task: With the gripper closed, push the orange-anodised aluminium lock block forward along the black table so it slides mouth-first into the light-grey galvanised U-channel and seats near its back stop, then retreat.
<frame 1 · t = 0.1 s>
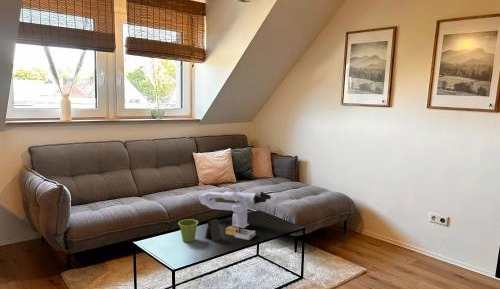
hand: (268, 198, 237), 22 cm above the table, tool horizontal, fingers open, 7 cm apart
dark tent-shaped stand: (213, 239, 225), on the table
lock block: (232, 234, 234), on the table
coupler channel: (245, 236, 230), on the table
plant pot: (188, 240, 222), on the table
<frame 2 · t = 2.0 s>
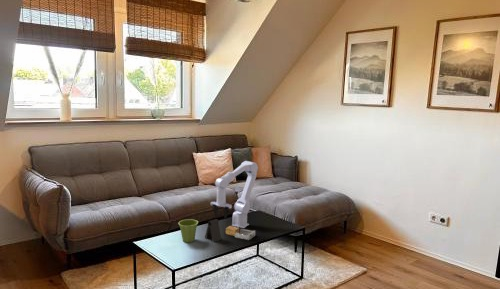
hand: (220, 217, 236), 9 cm above the table, tool pointing down, fingers open, 6 cm apart
nothing on the table moved.
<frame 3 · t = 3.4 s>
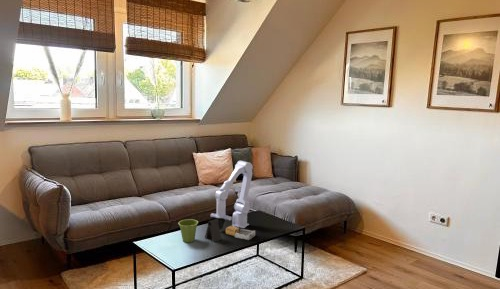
hand: (220, 229, 237), 2 cm above the table, tool pointing down, fingers closed
nothing on the table moved.
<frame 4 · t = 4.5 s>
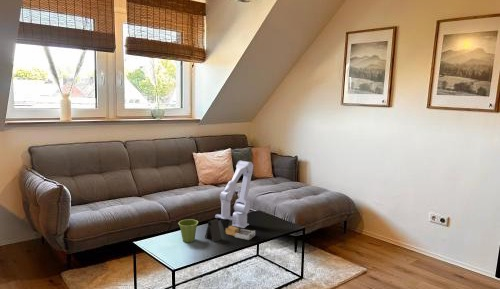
hand: (225, 230, 236), 1 cm above the table, tool pointing down, fingers closed
lock block: (232, 234, 234), on the table, touching gripper
everything else where it was.
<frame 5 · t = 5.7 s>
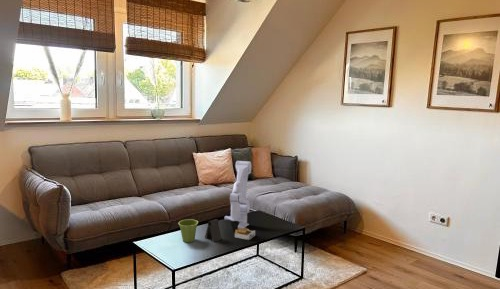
hand: (234, 231, 233), 2 cm above the table, tool pointing down, fingers closed
lock block: (241, 235, 231), on the table, touching gripper
everything else where it was.
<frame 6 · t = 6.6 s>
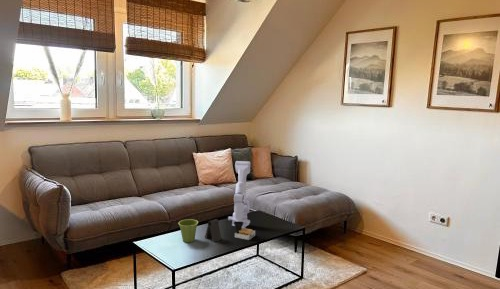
hand: (238, 232, 232), 1 cm above the table, tool pointing down, fingers closed
lock block: (245, 236, 230), on the table, touching coupler channel, gripper
everything else where it was.
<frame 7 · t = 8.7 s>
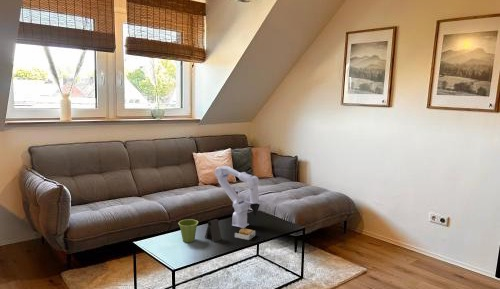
hand: (255, 215, 241), 10 cm above the table, tool pointing down, fingers closed
lock block: (245, 236, 230), on the table
everything else where it was.
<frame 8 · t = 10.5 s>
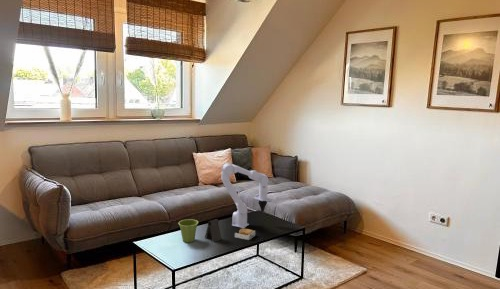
hand: (262, 211, 249), 9 cm above the table, tool pointing down, fingers closed
nothing on the table moved.
at the end: lock block 0.4 cm from the target spot, on the table; lock block tilted 0° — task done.
